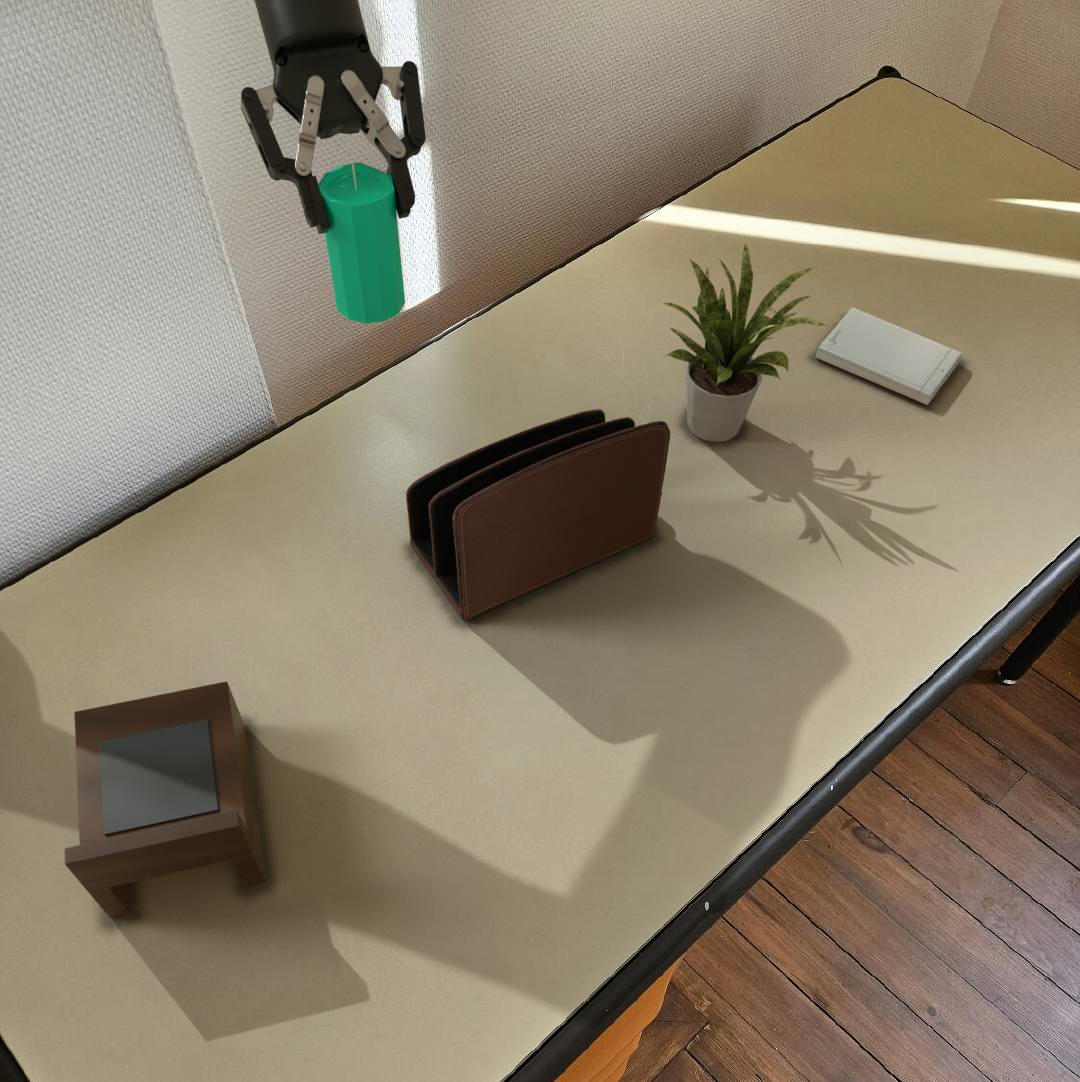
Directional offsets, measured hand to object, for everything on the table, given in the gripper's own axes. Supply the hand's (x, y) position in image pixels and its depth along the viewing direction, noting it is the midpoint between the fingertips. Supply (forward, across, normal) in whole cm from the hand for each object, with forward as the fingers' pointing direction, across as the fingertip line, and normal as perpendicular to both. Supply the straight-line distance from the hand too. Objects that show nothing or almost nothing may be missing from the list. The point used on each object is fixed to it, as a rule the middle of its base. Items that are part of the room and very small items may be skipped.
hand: (365, 222), depth 83 cm
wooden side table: (+39, -27, -8) cm, 48 cm away
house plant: (+22, +31, +8) cm, 39 cm away
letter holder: (+28, +8, +3) cm, 29 cm away
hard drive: (+20, +51, +10) cm, 56 cm away
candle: (+5, 0, +7) cm, 9 cm away
